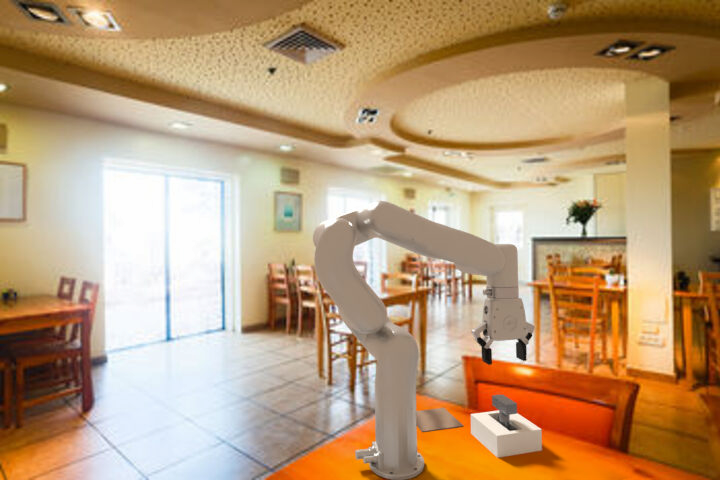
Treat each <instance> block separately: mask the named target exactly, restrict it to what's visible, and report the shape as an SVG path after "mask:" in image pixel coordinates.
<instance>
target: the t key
mask: <svg viewBox="0 0 720 480" xmlns="http://www.w3.org/2000/svg"><path fill="white" fill-rule="evenodd" d="M491 402H492V403H491V405H492V406H493V407H494V408H495V409H496V410H497V411H498V410H499V423H500V424H501V425H502V426H504V427H505V428H506V429H508V430H509V431H514V430H516V429H510V415H511V414H517V413H518V403H517V402H516V401H514V400H513V399H511V398H509V397H508V396H506V395H505V394H501V393H500V394H493V395H491Z"/></svg>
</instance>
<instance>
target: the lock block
mask: <svg viewBox="0 0 720 480" xmlns="http://www.w3.org/2000/svg"><path fill="white" fill-rule="evenodd" d="M510 429H516V430H514V431H509V430H508V429H506V428H505V427H504V426H502V425H501V424H500V423H499V410H498V409H497V410H492V411H491V410H490V411H484V412H477V413H476V412H475V413H470V434H471V435H472V436H473V437H474V438H476V440H478V442H480V443H481V444H482V445H483V446H484V447H485V448H486V449H487V450H488V451H490V453H491V454H493V455H494V456H495V457H496V458H505V457H509V456H516V455H522V454H528V453H534V452H541V451H543V444H542V443H543V441H542V440H543V439H542V438H543V435H542V433H543V432H542V428H540V427H539V426H537V425H536V424H534V423H533V422H531V421H530V420H528V419H527V418H525V417H524V416H522V415H521V414H519V413H518V412H517V414H511V415H510Z"/></svg>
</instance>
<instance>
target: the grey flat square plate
mask: <svg viewBox="0 0 720 480" xmlns="http://www.w3.org/2000/svg"><path fill="white" fill-rule="evenodd" d="M416 420H417V428H418V429H419V430H420V432H421V433H424V432H425V433H427V432H432V431H441V430H447V429H455V428H462V427H464V424H463V423H462V422H460V421H459V420H458V419H457V418H456V417H455V416H454V415H453V414H452V413H450V412H449V411H448V410H447V409H446V408H445V407H439V408H431V409H430V408H429V409H422V410H416Z"/></svg>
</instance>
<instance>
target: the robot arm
mask: <svg viewBox="0 0 720 480" xmlns="http://www.w3.org/2000/svg"><path fill="white" fill-rule="evenodd" d="M375 238H378V239H380V240H383V241H386V242H388V243H390V244H392V245H396V246H397V247H399V248H402V249H405V250H407V251H409V252H412V253H414V254H417V255H419V256H423V257H426V258H431V259H438V260H443V261H447V262H449V263H450V262H451V263H453V266H455V267H454V268H456V269H457V270H458V271H459V272H461V273H464V274H467V275H474V276H475V275H476V276H482V277H486V286H485V287H486V288H485V289H482V295H484V296H486V298H485V299H484V302H483V307H482V308H483V309H482V319H481V321H482V322H481V323H480V324H478V325H477V326H476V327H474V328H473V329H471V334H472V336H473V338H474V341H475V342H477V344H479V346H480V347H481V359H482V362H483V363H485V364H487V365H489V366H491V365H492V364H493V357H492V356H493V354H492V353H493V352H492V350H493V349H492V348H491V345H492V344H493V343H494V342H501V341H502V342H504V341H515V340H517V342H516V343H515V356H516V358H517V359H519V360H521V361H524V362H525V361H527V356H528V354H527V352H528V351H527V345H529V342H530V340H531V339H532V337H533V333H534V331H535V328H536V327H535V325H534V324H532V323H530V322H528V321H527V316H526V311H525V310H526V309H525V306H524V303H523V302H524V301H523V298H521V297H520V295H519V294H520V291H519V290H520V289H519V258H518V255H519V254H518V253H519V252H518V249H517V246H516V245H515V244H512V243H500V244H499V243H493V242H490V241H488V240H486V239H485V238H482V237H479V236H477V235H474V234H472V233H469V232H466V231H464V230H461V229H460V230H459V229H457V228H453V227H450V226H448V225H446V224H442V223H440V222H435V221H433V220H431V219H428V218H425V217H423V216H421V215H419V214H416V213H414V212H412V211H410V210H408V209H406V208H403V207H401V206H399V205H397V204H394V203H392V202H389V201H387V200H378V201H374V202H371V203H369V204H366V205H363V206H361V207H359V208H357V209H353V210H351V211H349V212H346V213H343V214H341V215H339V216H336V217H333V218H330V219H327V220H324V221H322V222H320V223H319V224H318V225H317V226H316V227H315V229H314V230H313V234H312V241H313V245H314V247H315V250H314V270H315V273H316V274H315V275H316V277H317V280H318V282H319V283H320V285H321V286H322V288H323V290H324V291H325V293H327V295H328V296H329V298H330V299H331V300H332V302H333V303H334V304H335V306H336V307H337V311H338V314H339V316H340V319H341V320H342V321H343V323H344V324H345V326H346V327H347V328H348V330H350V331H351V333H352V334H353V336H354V337H355V338H356V339H357V341H359V342H360V344H361V345H362V346H363V348H364V349H365V351H367V353H369V354H370V355H371V356H372V357H373V358H374V359H375V360H376V371H375V376H374V377H375V378H374V423H375V424H374V426H375V429H374V431H375V432H374V434H375V441H371V446H369V447H368V448H364V449H355V452H354V454H355V455H354V456H355V459H356V460H363V464H368V465H369V469H371V471H372V472H373V474H376V475H377V476H378V477H382V478H384V479H387V480H410V479H412V478H415V477H417V476H418V475H420V474H421V473H422V472H423V470H424V468H425V460H424V457H423V456H422V454H421V453H420V452H418V437H417V436H418V433H417V431H418V430H417V428H418V426H417V420H416V411H417V371H418V365H419V358H420V357H419V356H420V355H419V354H420V351H419V345H418V343H417V341H416V339H415V337H414V336H413V335H412V334H411V333H410V331H408V330H407V329H404V328H403V327H401V326H400V325H397V324H396V323H395V324H394V322H393V321H392V320H391V319H390V318H389V317H388V312H387V308H386V305H385V304H384V302H383V301H382V298H380V297H379V296H378V295H377V293H376V292H375V290H373V288H372V287H371V286H370V284H368V283H367V281H366V280H365V278H364V276H362V274H361V273H360V271H359V270H358V269H357V267H356V264H355V262H354V252H355V251H354V250H355V246H356V247H357V246H359V245H361V244H363V243H366V242H367V241H370V240H372V239H375ZM481 333H482V335H483V336H482V337H481Z"/></svg>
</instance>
